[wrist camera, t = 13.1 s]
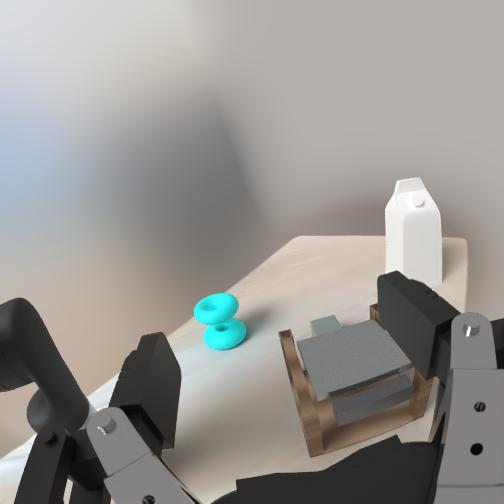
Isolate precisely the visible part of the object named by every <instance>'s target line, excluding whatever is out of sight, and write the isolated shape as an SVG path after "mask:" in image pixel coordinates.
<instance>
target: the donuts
mask: <svg viewBox="0 0 504 504" xmlns="http://www.w3.org/2000/svg"><path fill="white" fill-rule="evenodd" d="M238 307H239V303H238V300H237V299H236V297H234V296H233V295H231V294H227V293H218V294H214V295H211V296H208V297H206V298H204V299H203V300H201V301H200V302H199V303H198V304H197V305H196V307H195V309H194V316H195V318H196V319H197V320H198V321H199V322H200V323H202V324H206V325H210V326H209V327H208V328H207V329H206V331H205V333H204V341H205V343H206V344H207V345H208V346H209V347H210V348H212V349H216V350H225V349H229V348H232V347H234V346H236V345H238V344H239V343H240V342H241V341H242V340H243V339H244V338H245V336H246V326H245V324H244V323H243V322H242V321H240V320H238V319H235V318H232V317H233V316H234V315H235V314H236V312H237V310H238Z"/></svg>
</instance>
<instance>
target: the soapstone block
mask: <svg viewBox="0 0 504 504" xmlns="http://www.w3.org/2000/svg"><path fill="white" fill-rule="evenodd" d="M310 324H311V329H312V335H313V337H315V336H319V335H322V334H326V333H329V332H332V331H336V330H339V329H342V327H341V325H340V324H339V322H338V321H337V319H336V317H335V316H334V315H332V316H328V317H325V318H321V319H317V320H314V321H310Z"/></svg>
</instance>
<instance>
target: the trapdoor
mask: <svg viewBox="0 0 504 504" xmlns="http://www.w3.org/2000/svg"><path fill="white" fill-rule="evenodd" d="M297 346H298V349H299V352H300V354H301V357H302V360H303V363H304V365H305V368H306V371H307V373H308V376H309V379H310V382H311V384H312V387H313V390H314V393H315V395H316V398H317V401H321V400H324V399H327V398H331V397H334V396H337V395H340V394H343V393H346V392H349V391H352V390H355V389H358V388H361V387H364V386H367V385H370V384H372V383H375V382H378V381H380V380H383V379H386V378H388V377H391V376H393V375H396V374H398V373H401V372H403V371H405V370H408V369H410V368H412V366H413V364H412V362H411V361H410V360H409V359H408V357H407V356H406V355H405V354H404V352H403V351H402V350H401V348H400V347H399V346H398V345H397V344H396V343H395V341H394V340H393V339H392V338H391V337H390V336H389V335H388V334H387V333H386V332H385V330H384V329H383V328H382V327H381V326H380V325H379V324H378V323H377V322H376V321H375V320H374V319H370V320H367V321H364V322H361V323H358V324H355V325H352V326H349V327H345V328H342V329H339V330H336V331H332V332H329V333H326V334H322V335H319V336H315V337H312V338H308V339H304V340H301V341H297ZM413 387H414V385H413V384H412V382H411V381H410V380H409V379H408V377H407V376H406V375H403V376H400V377H398V378H396V379H393V380H391V381H388V382H386V383H383V384H380V385H378V386H375V387H372V388H370V389H367V390H364V391H361V392H358V393H355V394H353V395H350V396H347V397H343V398H340V399H337V400H334V401H332V406H333V414H334V416H335V419H336V421H337V424H338V426H341V425H344V424H347V423H350V422H353V421H356V420H359V419H362V418H365V417H367V416H370V415H373V414H375V413H378V412H381V411H383V410H386V409H388V408H391V407H393V406H395V405H398V404H400V403H403V402H405V401H407V400H409V399H412V396H413Z"/></svg>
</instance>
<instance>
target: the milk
mask: <svg viewBox="0 0 504 504" xmlns="http://www.w3.org/2000/svg"><path fill="white" fill-rule="evenodd" d="M385 220H386V274H387V273H390V272H393V271H396V270H397V271H399V272H401V273H402V274H403V275H404V276H406V277H407V278H408V279H409V280H410V279H414V280H417V281H420V282H422V283H424V284H426V285H427V286H428V287H431V286H435V285H438V284H441V283H442V237H441V220H440V213H439V210H438V208H437V206H436V204H435V203H434V201H433V199H432V198H431V196H430V195H429V193H428V192H427V190H426V189H425V187H424V185H423V183H422V181H421V179H420V178H411V179H405V180H398V181H397V183H396V188H395V193H394V194H393V196H392V198H391V199H390V201H389V202H388V204H387V206H386V209H385Z"/></svg>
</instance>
